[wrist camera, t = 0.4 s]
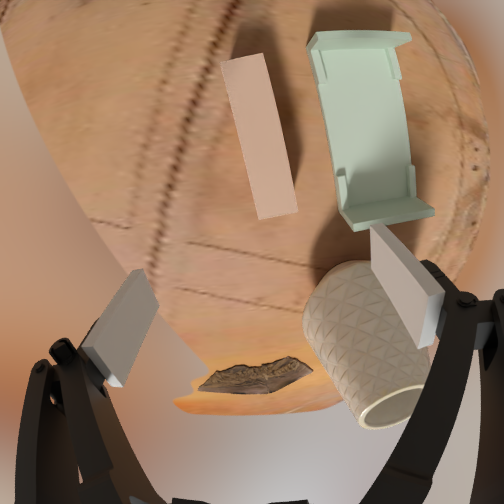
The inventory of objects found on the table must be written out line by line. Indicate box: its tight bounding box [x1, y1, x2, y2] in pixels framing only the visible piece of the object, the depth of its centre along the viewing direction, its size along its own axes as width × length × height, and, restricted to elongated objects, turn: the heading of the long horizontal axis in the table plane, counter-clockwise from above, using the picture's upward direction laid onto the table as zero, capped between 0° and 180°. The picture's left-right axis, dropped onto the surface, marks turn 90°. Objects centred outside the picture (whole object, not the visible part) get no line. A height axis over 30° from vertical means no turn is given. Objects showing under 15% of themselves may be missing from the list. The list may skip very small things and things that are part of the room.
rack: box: [306, 30, 435, 232], centre depth 29 cm, size 23×12×7 cm, turn 13°
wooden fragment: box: [198, 356, 313, 394], centre depth 54 cm, size 26×11×1 cm, turn 107°
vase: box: [302, 260, 431, 429], centre depth 33 cm, size 17×17×23 cm
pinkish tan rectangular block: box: [220, 53, 298, 220], centre depth 30 cm, size 18×4×7 cm, turn 13°
